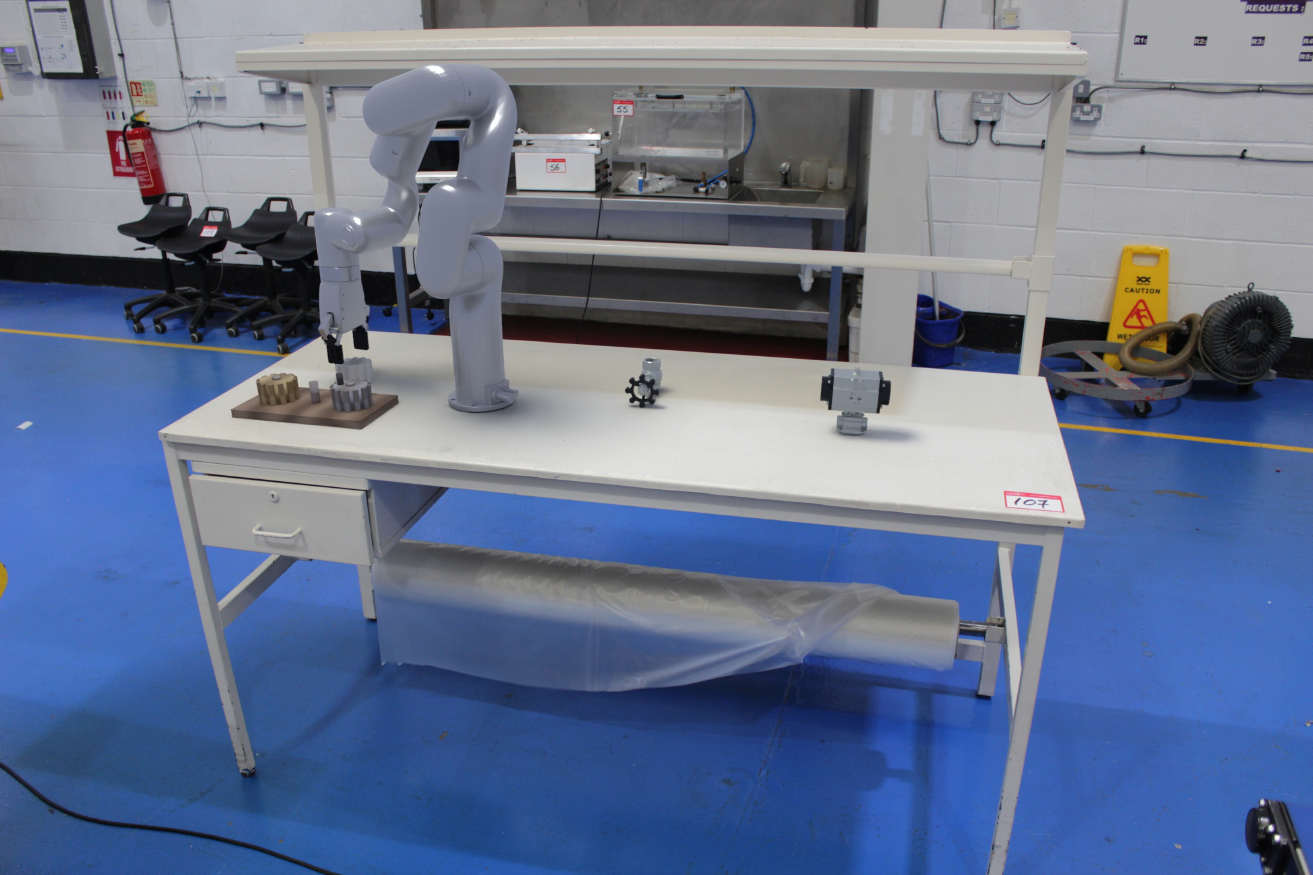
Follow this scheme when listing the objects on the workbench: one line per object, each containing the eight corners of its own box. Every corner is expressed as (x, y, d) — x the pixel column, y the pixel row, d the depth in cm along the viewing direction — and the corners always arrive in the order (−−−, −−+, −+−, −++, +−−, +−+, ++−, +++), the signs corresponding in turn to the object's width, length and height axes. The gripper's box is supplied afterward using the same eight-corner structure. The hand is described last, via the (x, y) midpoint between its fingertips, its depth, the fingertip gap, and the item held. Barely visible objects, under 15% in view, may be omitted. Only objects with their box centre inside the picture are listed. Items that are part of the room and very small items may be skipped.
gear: (380, 379, 181) (378, 360, 180) (352, 388, 176) (350, 369, 174) (358, 373, 185) (356, 355, 183) (330, 382, 179) (327, 363, 178)
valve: (637, 386, 178) (624, 407, 167) (637, 355, 176) (624, 374, 165) (669, 388, 177) (658, 409, 166) (669, 357, 175) (659, 376, 164)
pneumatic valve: (817, 424, 159) (823, 361, 154) (884, 429, 157) (891, 365, 152) (817, 436, 154) (822, 371, 149) (885, 441, 152) (893, 375, 147)
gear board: (398, 402, 168) (394, 365, 166) (361, 429, 156) (355, 389, 153) (278, 392, 174) (272, 356, 171) (232, 417, 161) (224, 378, 158)
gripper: (346, 262, 180) (354, 342, 187) (297, 281, 165) (308, 367, 172) (379, 265, 179) (387, 346, 186) (333, 284, 163) (343, 371, 170)
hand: (349, 356), depth 179 cm, fingers open, 9 cm apart
